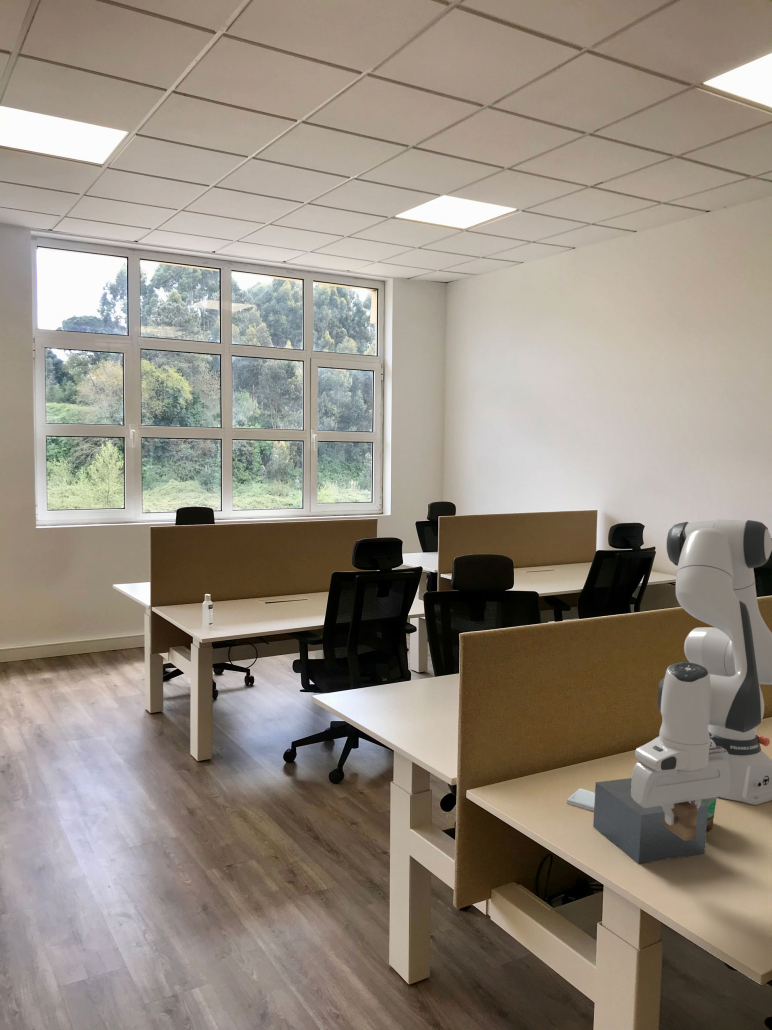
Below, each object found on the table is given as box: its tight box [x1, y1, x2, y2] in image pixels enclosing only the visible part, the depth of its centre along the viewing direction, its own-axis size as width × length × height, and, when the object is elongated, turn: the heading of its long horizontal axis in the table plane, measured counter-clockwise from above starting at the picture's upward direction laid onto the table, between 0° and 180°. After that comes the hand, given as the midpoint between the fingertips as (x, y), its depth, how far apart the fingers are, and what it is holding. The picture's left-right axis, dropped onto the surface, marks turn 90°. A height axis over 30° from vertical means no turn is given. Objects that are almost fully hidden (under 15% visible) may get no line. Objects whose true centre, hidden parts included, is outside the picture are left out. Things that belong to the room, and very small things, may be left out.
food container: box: [701, 797, 719, 833], centre depth 173 cm, size 12×6×10 cm, turn 148°
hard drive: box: [566, 788, 595, 812], centre depth 183 cm, size 2×8×12 cm
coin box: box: [592, 777, 708, 865], centre depth 166 cm, size 16×16×10 cm
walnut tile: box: [663, 802, 697, 841], centre depth 149 cm, size 2×6×6 cm, turn 19°
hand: (679, 822), depth 149 cm, fingers closed on walnut tile, 2 cm apart
